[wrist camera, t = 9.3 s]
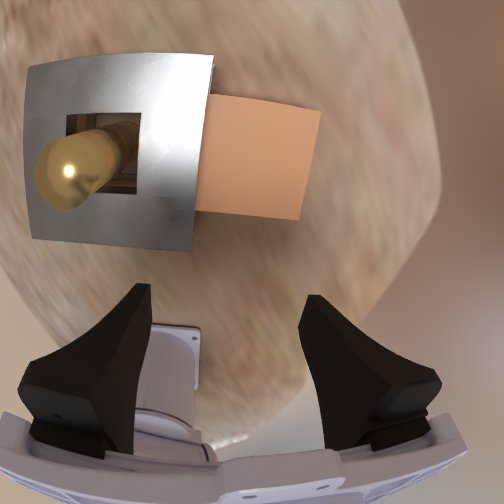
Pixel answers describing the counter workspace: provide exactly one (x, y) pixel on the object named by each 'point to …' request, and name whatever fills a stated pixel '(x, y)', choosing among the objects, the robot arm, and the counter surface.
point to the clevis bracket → (149, 154)
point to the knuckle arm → (251, 157)
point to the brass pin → (84, 163)
